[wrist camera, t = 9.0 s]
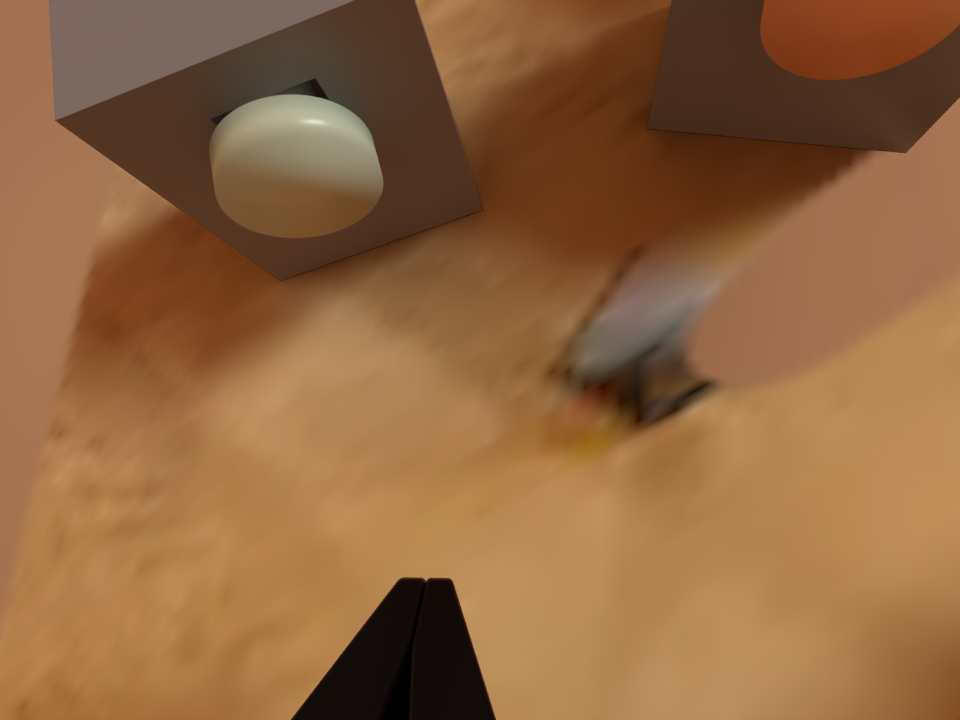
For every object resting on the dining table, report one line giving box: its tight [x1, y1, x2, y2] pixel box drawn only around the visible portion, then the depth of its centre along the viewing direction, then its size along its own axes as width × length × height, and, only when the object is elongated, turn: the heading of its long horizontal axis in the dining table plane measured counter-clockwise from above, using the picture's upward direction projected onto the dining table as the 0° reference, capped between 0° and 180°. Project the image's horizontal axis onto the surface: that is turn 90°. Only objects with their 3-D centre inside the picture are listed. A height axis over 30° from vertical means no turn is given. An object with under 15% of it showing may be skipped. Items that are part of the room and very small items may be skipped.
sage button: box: [209, 79, 383, 238], centre depth 15 cm, size 6×4×4 cm
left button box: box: [49, 0, 483, 281], centre depth 18 cm, size 6×9×10 cm, turn 106°
